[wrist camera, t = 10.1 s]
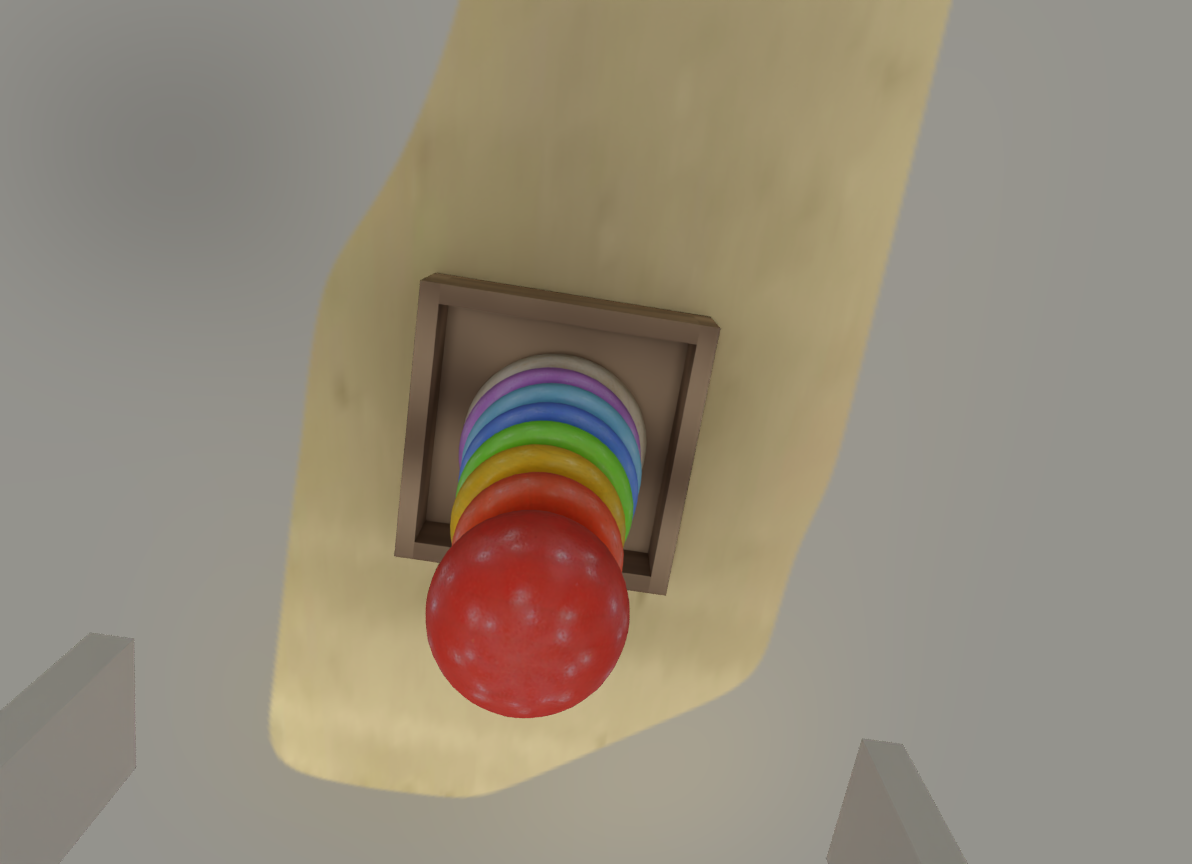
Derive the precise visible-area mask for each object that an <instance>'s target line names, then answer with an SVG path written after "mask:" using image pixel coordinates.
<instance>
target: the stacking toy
mask: <svg viewBox="0 0 1192 864" xmlns="http://www.w3.org/2000/svg"><path fill="white" fill-rule="evenodd" d="M646 444H647V439H646V429H645V424H644V420H643V417H642V413H641V411H640V408H639V406H638V404H637V402H636V400H635V399H634V397H633V395H632V394H631V393H630V391H629V390H628V389H627V387H626V386H625V385H624V384H623V383H622V382H621V381H620V380H619V379H618V378H617V377H616V376H615V375H613V374H612V373H611V372H610V371H608V370H607V369H605V368H604V367H602V366H600V365H598V364H596V363H594V362H592V361H589V360H587V359H584V358H580V357H577V356H572V355H567V354H540V355H535V356H531V357H527V358H524V359H521V360H518V361H516V362H514V363H512V364H510V365H508V366H506V367H504V368H503V369H501V370H500V371H498V372H497V373H496V374H494V375H493V376H492V377H491V378H490V379H489V380H488V381H487V382H486V383H485V384H484V385H483V386H482V387H481V389H480V390H479V391H478V393H477V394H476V396H475V398H474V399H473V401H472V403H471V405H470V407H469V410H468V413H467V416H466V419H465V423H464V427H463V430H462V434H461V438H460V444H459V468H460V472H459V479H458V486H457V491H456V499H455V502H454V505H453V508H452V513H451V522H450V535H451V542H452V547H451V548H450V549H449V550H448V551H447V552H446V554H445V556H444V557H443V559H442V561H441V562H440V564H439V565H438V567H437V569H436V571H435V573H434V576H433V578H432V581H431V584H430V587H429V591H428V595H427V601H426V629H427V637H428V642H429V645H430V648H431V651H432V654H433V656H434V658H435V660H436V662H437V664H438V666H439V668H440V670H441V672H442V673H443V675H444V676H445V677H446V679H447V680H448V681H449V682H450V684H451V685H452V686H453V687H454V688H455V689H456V690H457V691H458V692H459V693H460V694H462V695H463V696H464V697H465V698H467V699H468V700H469V701H471V702H472V703H474V704H476V705H478V706H479V707H481V708H483V709H486V710H488V711H490V712H493V713H497V714H500V715H503V716H506V717H514V718H534V717H543V716H548V715H552V714H556V713H559V712H562V711H564V710H566V709H569V708H571V707H573V706H575V705H576V704H578V703H580V702H581V701H583V700H584V699H586V698H587V697H588V696H589V695H591V694H592V693H593V692H595V691H596V690H597V689H598V688H599V687H600V686H601V685H602V684H603V682H604V681H605V680H606V678H607V677H608V676H609V674H610V673H611V671H612V670H613V668H614V667H615V665H616V663H617V661H618V659H619V657H620V655H621V652H622V650H623V647H624V645H625V641H626V637H627V634H628V628H629V599H628V593H627V588H626V582H625V580H624V578H623V575H622V568H623V557H624V552H623V547H624V543H625V541H626V539H627V536H628V533H629V531H630V528H631V524H632V519H633V516H634V513H635V510H636V505H637V500H638V494H639V490H640V485H641V476H642V468H643V464H644V461H645V455H646Z"/></svg>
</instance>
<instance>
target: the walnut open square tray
mask: <svg viewBox="0 0 1192 864" xmlns="http://www.w3.org/2000/svg"><path fill="white" fill-rule="evenodd" d="M719 333H720V327H719V326H718V325H717V324H716V323H715V321H714V320H713V319H712V318H711V317H708V316H701V315H695V314H689V313H683V312H676V311H670V310H664V309H658V308H651V307H645V306H639V305H633V304H626V303H620V302H614V301H608V300H601V299H595V298H589V297H583V296H577V295H570V294H564V293H558V292H552V291H545V290H539V289H533V288H527V287H520V286H514V285H508V284H502V283H495V282H489V281H483V280H477V279H470V278H464V277H458V276H452V275H446V274H439V273H434V274H432V275H430V276H428V277H426V278H424V279H422V280H420V290H419V300H418V311H417V321H416V332H415V342H414V353H413V364H412V374H411V385H410V395H409V406H408V416H407V427H406V437H405V448H404V458H403V469H402V480H401V490H400V501H399V511H398V522H397V532H396V543H395V553H394V556H396V557H403V558H410V559H417V560H424V561H431V562H438V563H440V562H441V561H442V559H443V557H444V556H445V554H446V552H447V551H448V550H449V549H450V548H451V547H452V542H451V535H450V522H451V513H452V508H453V505H454V502H455V499H456V491H457V486H458V479H459V472H460V468H459V444H460V438H461V434H462V430H463V427H464V423H465V419H466V416H467V413H468V410H469V407H470V405H471V403H472V401H473V399H474V398H475V396H476V394H477V393H478V391H479V390H480V389H481V387H482V386H483V385H484V384H485V383H486V382H487V381H488V380H489V379H490V378H491V377H492V376H493V375H494V374H496V373H497V372H498V371H500V370H501V369H503V368H504V367H506V366H508V365H510V364H512V363H514V362H516V361H518V360H521V359H524V358H527V357H531V356H535V355H540V354H567V355H572V356H577V357H580V358H584V359H587V360H589V361H592V362H594V363H596V364H598V365H600V366H602V367H604V368H605V369H607V370H608V371H610V372H611V373H612V374H613V375H615V376H616V377H617V378H618V379H619V380H620V381H621V382H622V383H623V384H624V385H625V386H626V387H627V389H628V390H629V391H630V393H631V394H632V395H633V397H634V399H635V400H636V402H637V404H638V406H639V408H640V411H641V413H642V417H643V420H644V424H645V429H646V439H647V444H646V455H645V461H644V464H643V468H642V476H641V485H640V490H639V494H638V500H637V505H636V510H635V513H634V516H633V519H632V524H631V528H630V531H629V533H628V536H627V539H626V541H625V543H624V547H623V552H624V557H623V568H622V575H623V578H624V580H625V582H626V588H627V590H631V591H638V592H645V593H652V594H659V595H665V596H666V592H667V587H668V582H669V577H670V573H671V568H672V563H673V558H674V553H675V548H676V543H677V538H678V534H679V529H680V524H681V519H682V514H683V509H684V504H685V499H686V494H687V490H688V485H689V480H690V475H691V470H692V465H693V460H694V455H695V451H696V446H697V441H698V436H699V431H700V426H701V421H702V416H703V411H704V407H705V402H706V397H707V392H708V387H709V382H710V377H711V372H712V368H713V363H714V358H715V353H716V348H717V343H718V338H719Z"/></svg>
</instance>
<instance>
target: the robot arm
mask: <svg viewBox="0 0 1192 864" xmlns="http://www.w3.org/2000/svg"><path fill="white" fill-rule="evenodd" d="M134 671H135V665H134V639H133V638H126V637H119V636H112V635H104V634H97V633H89V634H88V635H87V636H86V637H84V638H83V639H82V640H81V641H80V642H79V643H77V644H76V645H75V646H74V647H73V648H72V649H71V650H70V651H68V652H67V653H66V654H65V655H64V656H63V657H62V658H60V659H59V660H58V661H57V662H56V663H54V664H53V665H52V666H51V667H50V668H49V669H48V670H46V671H45V672H44V673H43V674H42V675H41V676H40V677H38V678H37V679H36V680H35V681H34V682H33V683H31V684H30V685H29V686H28V687H27V688H26V689H25V690H24V691H22V692H21V693H20V694H19V695H18V696H17V697H15V698H14V699H13V700H12V701H11V702H10V703H9V704H7V705H6V706H5V707H4V708H3V709H2V710H0V864H59V863H60V862H61V861H62V859H63V858H64V857H65V856H66V854H67V853H68V852H69V851H70V849H71V848H72V847H73V846H74V844H75V843H76V842H77V841H78V840H79V838H80V837H81V836H82V835H83V833H84V832H85V831H86V830H87V828H88V827H89V826H90V825H91V823H92V822H93V821H94V819H95V818H96V817H97V816H98V815H99V813H100V812H101V811H102V810H103V808H104V807H105V806H106V805H107V803H108V802H109V801H110V799H111V798H112V797H113V796H114V795H115V793H116V792H117V791H118V790H119V788H120V787H121V786H122V785H123V783H124V782H125V781H126V780H127V778H128V777H129V776H130V775H131V773H132V772H133V771H134V769H135V768H136V741H135V740H136V736H135V672H134ZM826 859H827V862H828V864H968V863H967V861H966V859H965V858H964V856H963V854H962V852H961V850H960V848H959V846H958V845H957V843H956V841H955V839H954V837H953V836H952V834H951V832H950V830H949V828H948V826H947V824H946V823H945V821H944V819H943V817H942V815H941V814H940V811H939V810H938V808H937V806H936V804H935V802H934V800H933V799H932V797H931V795H930V793H929V791H928V789H927V788H926V786H925V784H924V782H923V781H922V778H921V776H920V775H919V773H918V771H917V769H916V767H915V765H914V764H913V762H912V760H911V758H910V756H909V754H908V753H907V751H906V749H905V747H904V745H903V744H899V743H892V742H884V741H877V740H869V739H862V740H861V743H860V747H859V750H858V754H857V757H856V760H855V764H854V767H853V770H852V774H851V777H850V780H849V784H848V787H847V790H846V794H845V797H844V800H843V804H842V807H841V811H840V814H839V818H838V821H837V824H836V827H835V830H834V834H833V837H832V841H831V844H830V848H829V851H828V854H827V858H826Z"/></svg>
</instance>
